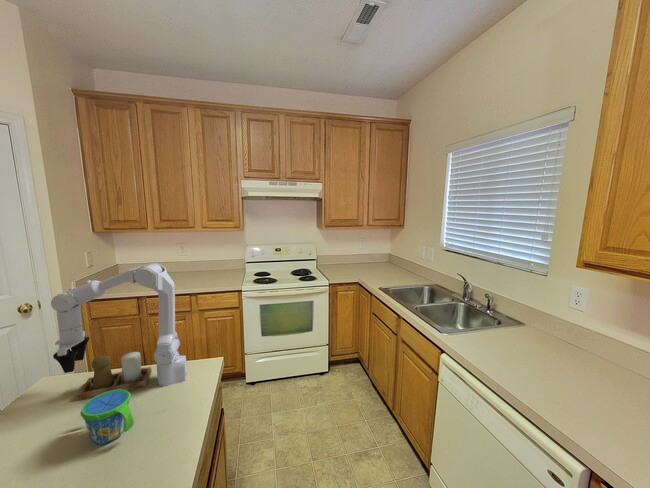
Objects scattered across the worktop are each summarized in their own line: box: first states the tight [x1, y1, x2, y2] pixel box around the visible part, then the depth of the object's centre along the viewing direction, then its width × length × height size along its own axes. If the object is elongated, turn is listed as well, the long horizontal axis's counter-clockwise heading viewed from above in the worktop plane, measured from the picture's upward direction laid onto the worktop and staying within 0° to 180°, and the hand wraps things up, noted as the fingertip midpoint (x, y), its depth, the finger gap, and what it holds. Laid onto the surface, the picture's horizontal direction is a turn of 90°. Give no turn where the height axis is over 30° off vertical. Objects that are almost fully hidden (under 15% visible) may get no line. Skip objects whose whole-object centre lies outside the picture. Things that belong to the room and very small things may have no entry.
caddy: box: [76, 366, 152, 402], centre depth 96 cm, size 19×10×3 cm, turn 113°
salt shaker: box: [120, 351, 142, 384], centre depth 98 cm, size 6×6×10 cm
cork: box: [91, 355, 114, 390], centre depth 94 cm, size 6×6×11 cm
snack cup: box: [80, 389, 135, 446], centre depth 75 cm, size 16×10×10 cm
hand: (74, 365), depth 91 cm, fingers open, 7 cm apart
